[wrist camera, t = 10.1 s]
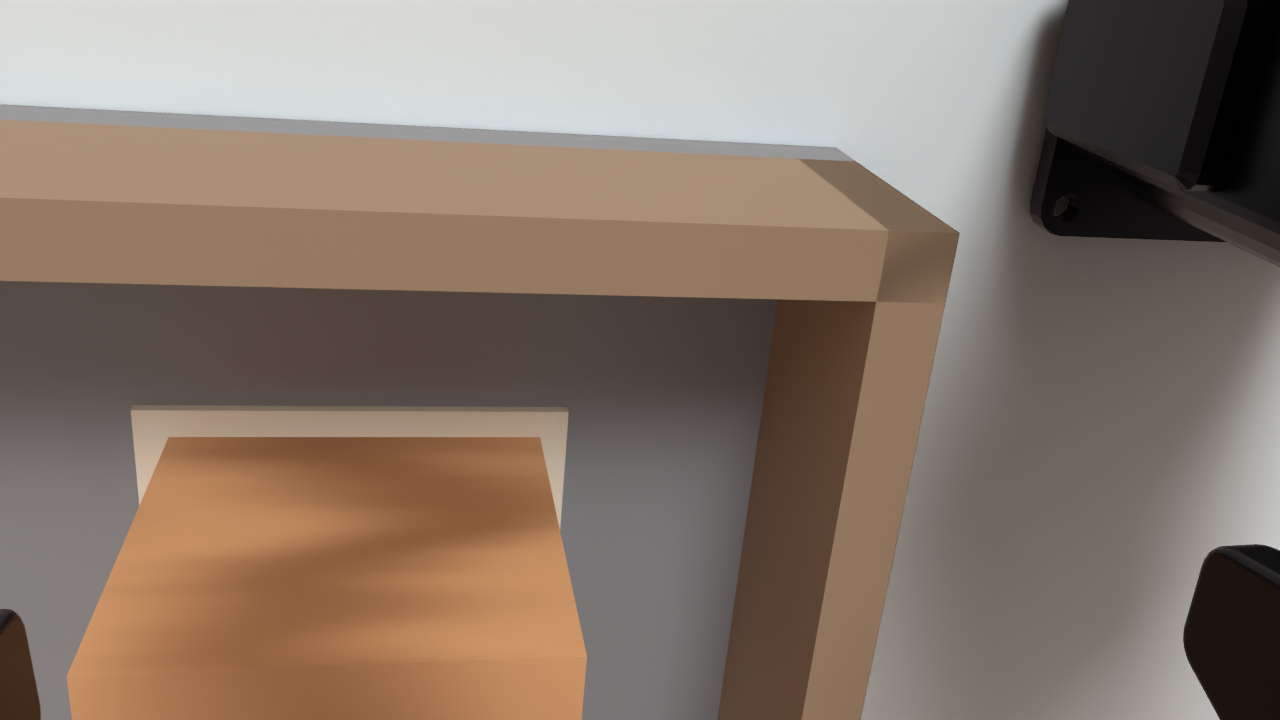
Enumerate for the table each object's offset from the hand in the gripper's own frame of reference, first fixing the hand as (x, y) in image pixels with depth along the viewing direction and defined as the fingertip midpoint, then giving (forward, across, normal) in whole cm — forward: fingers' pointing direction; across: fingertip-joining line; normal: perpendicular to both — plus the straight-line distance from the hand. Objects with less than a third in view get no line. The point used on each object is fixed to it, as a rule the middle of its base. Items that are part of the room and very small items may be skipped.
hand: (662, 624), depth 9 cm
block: (+10, +3, +7) cm, 13 cm away
